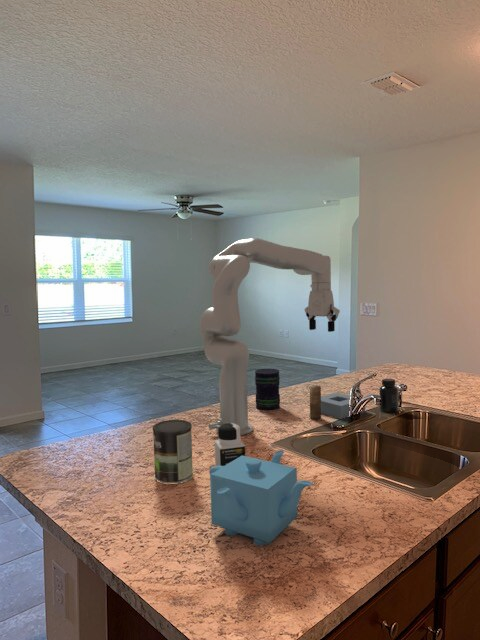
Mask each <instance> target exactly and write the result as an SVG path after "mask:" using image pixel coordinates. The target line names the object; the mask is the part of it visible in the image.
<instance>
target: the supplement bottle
mask: <svg viewBox="0 0 480 640" xmlns="http://www.w3.org/2000/svg"><path fill="white" fill-rule="evenodd" d="M380 398H381V405H380V404H379V410H380V411H381V412H383V413H397V412H398V411H399V388H398V387H397V386H396V380H395V378H383V379H381V386H380V387H379V399H380Z"/></svg>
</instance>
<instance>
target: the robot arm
mask: <svg viewBox="0 0 480 640" xmlns="http://www.w3.org/2000/svg"><path fill="white" fill-rule="evenodd" d="M331 261H332V260H331V257H330V256H329V255H323V254H322V253H319V252H316V251H312V250H309V249H303V248H297V247H292V246H286V245H282V244H279V243H276V242H272V241H269V240H265V239H262V238H258V237H253V238H245V239H244V238H243V239H239V240H237V241H235V242H234V243H232V244H231V245H229V246H227V248H225V249H224V250H222V251H221V252H220V253H218V254H217V255H215V256H214V257H212V259H211V260H210V262H209V265H208V271H209V274H210V276H211V277H212V279H214V280H215V281H214V284H213V287H212V291H211V297H212V298H211V299H212V307H208V308H207V309H205V310H204V312H203V313H202V314H201V316H200V330H201V331H200V333H201V338H202V339H201V340H202V345H203V351H204V354H205V357H206V359H207V360H208V361H209V362H211V363H212V364H214V365H215V364H216V365H219V366H222V367H221V369H220V370H221V371H220V374H219V378H218V387H219V391H218V392H219V415H220V416H219V417H218V418H217V421H216V422H213V423H208V429H209V430H210V431H211V430H216V431H215V432H217V433H218V427H219V426H220V425H223V424H226V423H233V424H237V425H238V426H239V427H240V436H245V435H247V434H250V433H252V431H253V429H254V428H253V425H252V424H251V423H250V422H249V415H248V413H249V409H248V408H249V403H248V401H249V400H248V367H249V360H250V350H249V347H248V346H247V344H245V342H243V341H241V340H238V339H234V338H227V337H231V336H235V335H237V334H238V333H239V332H240V331H241V327H242V323H241V322H242V321H241V314H240V308H239V307H240V306H239V305H240V304H239V297H238V295H239V294H238V293H239V292H238V291H239V288H240V286H241V284H242V282H243V280H244V279H245V278H246V277H247V275H248V274H249V271H250V267H251V264H250V263H253V264H257V265H258V264H259V265H262V266H266V267H270V268H274V269H278V270H292V271H293V272H294V273H295V274H297V275H300V276H309V275H310V276H311V277H310V278H311V279H310V280H311V281H310V282H311V284H310V286H309V287H310V288H311V290H310V291H309V295H308V302H307V303H308V304H307V305H308V306H307V307H305V308H304V312H305V316H306V317H307V319H308V320H309V321H308V324H309V327H308V328H309V331H312V330H314V331H315V330H316V329H317V319H316V317H326V318H327V320H328V321H327V332H329V333H331V332H335V326H336V324H335V322H336V321H337V319H338V317H339V315H340V312H341V311H340V309H339V308H337V307H335V303H334V300H335V299H334V294H333V291H332V273H331V272H332V270H331V269H332V267H331V266H332V265H331V264H332V263H331Z"/></svg>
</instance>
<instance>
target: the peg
mask: <svg viewBox="0 0 480 640" xmlns="http://www.w3.org/2000/svg"><path fill="white" fill-rule="evenodd" d="M321 396H322V387H321V385H317V384H313V385H309V419H310V420H312V421H320V420H322V414H321Z"/></svg>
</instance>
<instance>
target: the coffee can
mask: <svg viewBox="0 0 480 640" xmlns="http://www.w3.org/2000/svg"><path fill="white" fill-rule="evenodd" d="M192 427H193V425H192V422H190V421H187V420H185V419H167V420H163V421H160V422H157V423H155V424H153V426H152V436H153V456H154V457H153V458H154V479H155V478H156V480H158V481H160V482H162V483H181V482H184V483H186V482H185V481H187V482H188V480H189V481H190V480H191V479H192V478H193V477H194V472H193V471H194V469H193V468H194V467H193V444H192V443H193V441H192V440H193V439H192ZM192 476H193V477H192ZM156 480H155V481H156ZM181 484H182V483H181Z"/></svg>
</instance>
